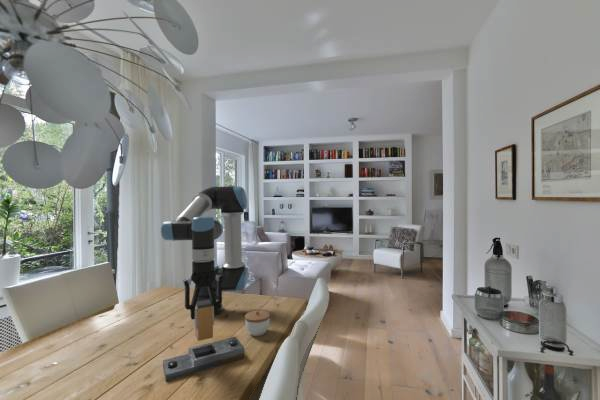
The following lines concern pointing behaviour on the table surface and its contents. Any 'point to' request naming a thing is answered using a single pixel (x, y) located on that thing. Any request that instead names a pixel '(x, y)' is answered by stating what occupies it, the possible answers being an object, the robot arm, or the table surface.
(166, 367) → the slotted plate with knobs
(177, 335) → the table surface
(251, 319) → the lidded jar
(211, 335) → the square wooden peg
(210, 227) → the robot arm
